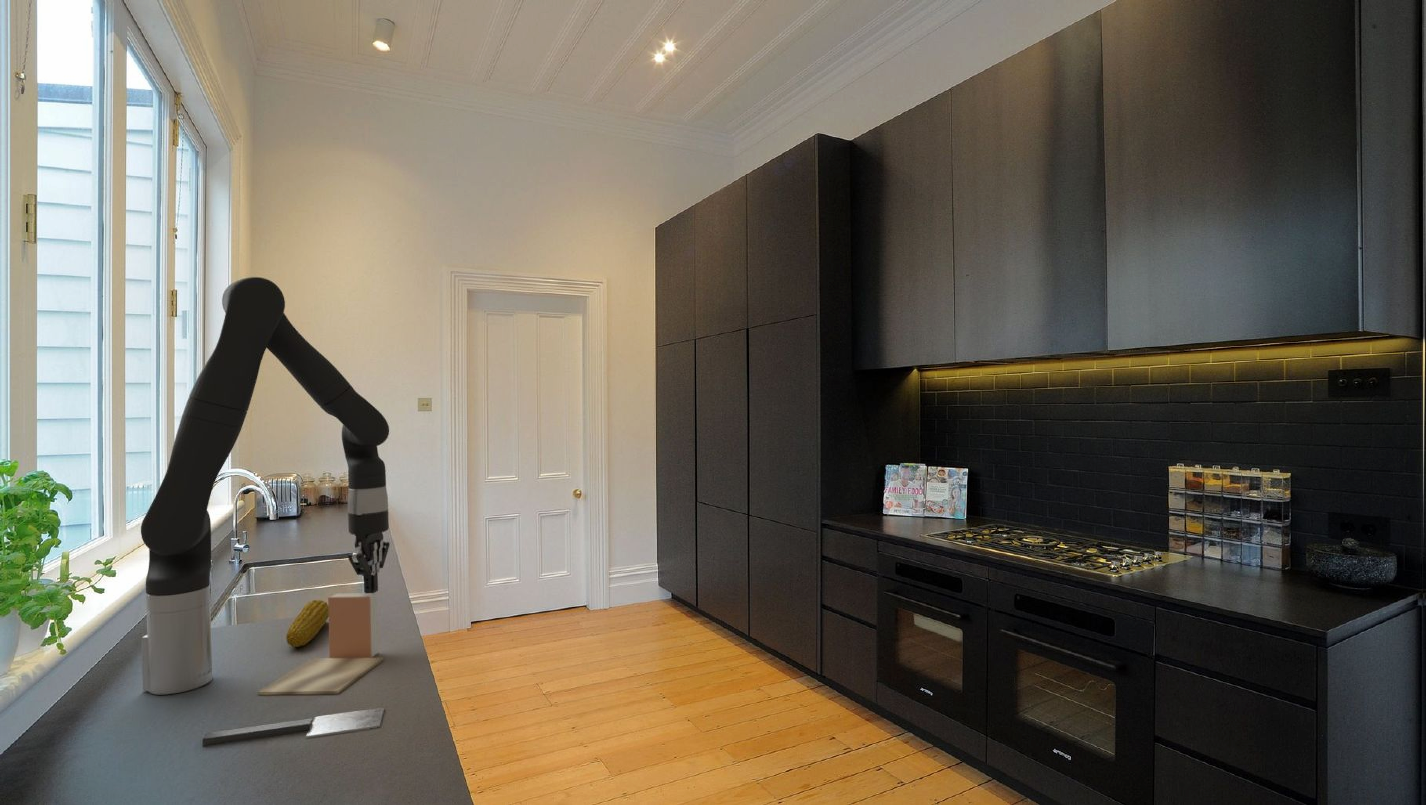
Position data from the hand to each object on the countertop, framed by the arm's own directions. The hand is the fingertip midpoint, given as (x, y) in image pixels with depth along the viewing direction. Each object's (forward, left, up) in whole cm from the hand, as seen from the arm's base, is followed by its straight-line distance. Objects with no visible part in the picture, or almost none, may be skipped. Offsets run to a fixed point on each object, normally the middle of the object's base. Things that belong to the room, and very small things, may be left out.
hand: (371, 592), depth 151 cm
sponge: (0, -7, -11) cm, 13 cm away
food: (-17, +6, -11) cm, 21 cm away
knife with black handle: (+8, -39, -11) cm, 41 cm away
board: (0, -18, -11) cm, 20 cm away
